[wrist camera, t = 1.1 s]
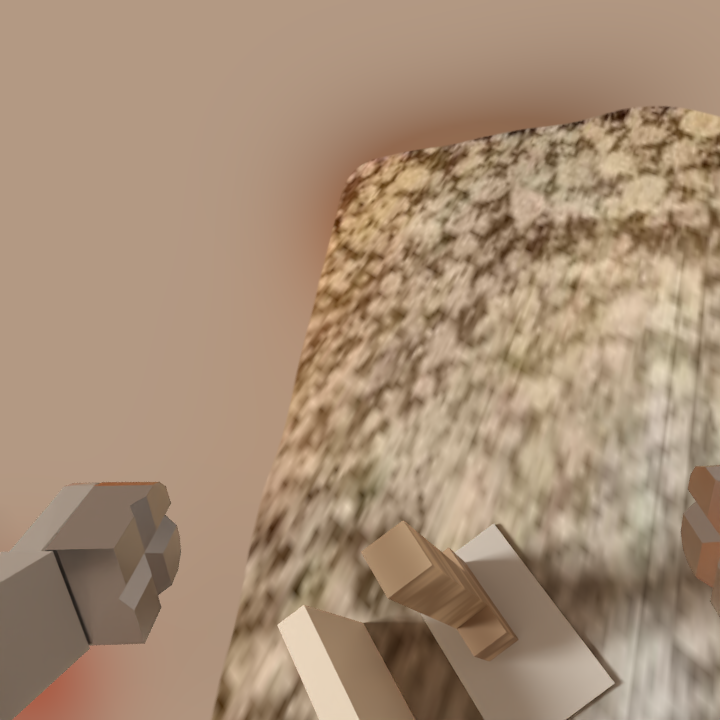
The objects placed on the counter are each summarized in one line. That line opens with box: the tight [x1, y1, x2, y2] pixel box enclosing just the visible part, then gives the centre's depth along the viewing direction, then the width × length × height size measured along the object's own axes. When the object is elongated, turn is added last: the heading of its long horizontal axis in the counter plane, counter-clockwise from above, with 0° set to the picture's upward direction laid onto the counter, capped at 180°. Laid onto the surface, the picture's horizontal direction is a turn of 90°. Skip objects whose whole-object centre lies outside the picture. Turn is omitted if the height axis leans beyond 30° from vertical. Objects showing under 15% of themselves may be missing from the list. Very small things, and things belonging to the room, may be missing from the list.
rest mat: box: [420, 524, 615, 720], centre depth 40 cm, size 8×12×1 cm, turn 32°
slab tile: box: [278, 605, 415, 720], centre depth 38 cm, size 2×8×10 cm, turn 32°
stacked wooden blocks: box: [361, 521, 519, 661], centre depth 34 cm, size 2×6×18 cm, turn 32°
